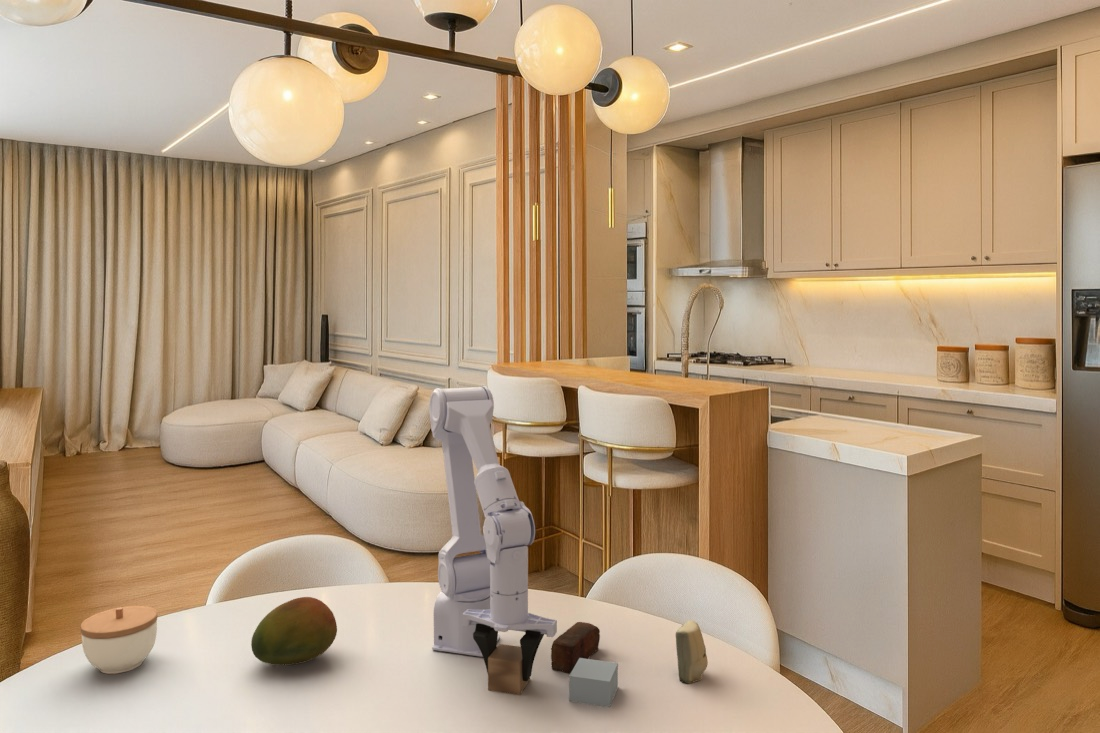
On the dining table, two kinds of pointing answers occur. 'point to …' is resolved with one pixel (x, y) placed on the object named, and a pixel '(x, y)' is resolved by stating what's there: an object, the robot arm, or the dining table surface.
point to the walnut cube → (506, 670)
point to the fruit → (294, 632)
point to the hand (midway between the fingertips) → (509, 675)
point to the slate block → (593, 682)
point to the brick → (574, 646)
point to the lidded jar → (119, 638)
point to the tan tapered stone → (690, 652)
